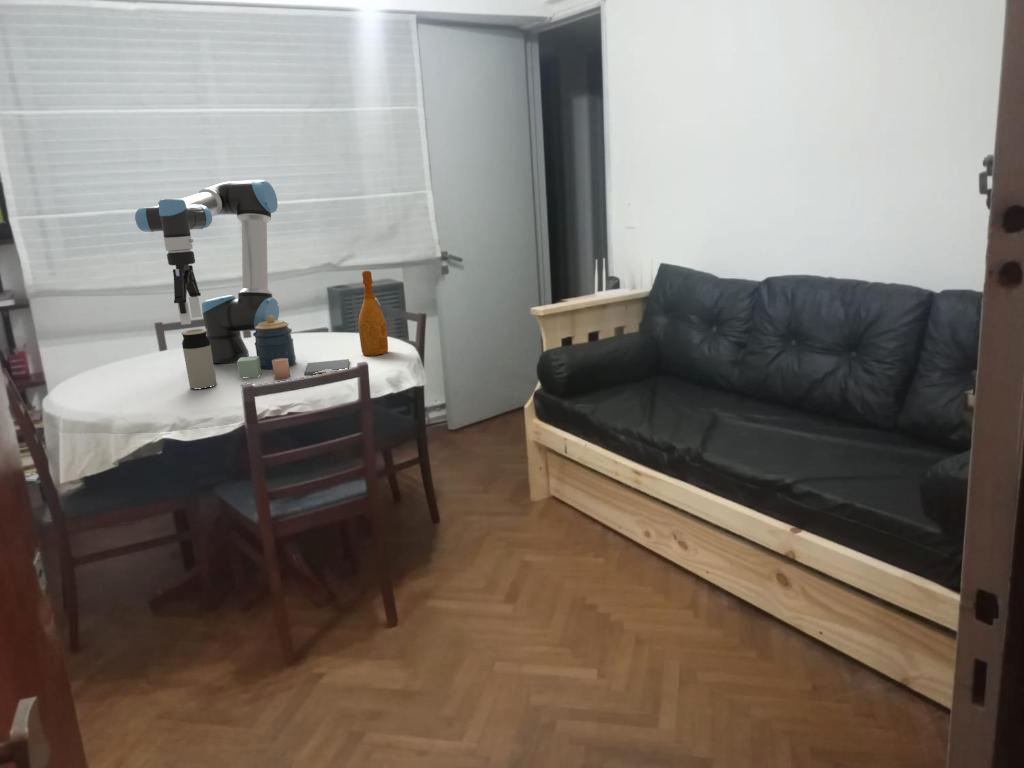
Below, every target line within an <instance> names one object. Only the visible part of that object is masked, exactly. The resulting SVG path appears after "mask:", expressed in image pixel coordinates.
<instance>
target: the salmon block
mask: <svg viewBox="0 0 1024 768" xmlns="http://www.w3.org/2000/svg"><path fill="white" fill-rule="evenodd" d="M272 366H273V369H272V371H273V372H272V373H273V377H274V380H276V379H277V380H276V381H280V380H281V381H282V380H287V379H289V378H291V372H290V371H291V369H290V366H289V363H288V358H278V359H274V360H272ZM279 379H280V380H279Z"/></svg>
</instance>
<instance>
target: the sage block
mask: <svg viewBox="0 0 1024 768" xmlns="http://www.w3.org/2000/svg"><path fill="white" fill-rule="evenodd" d="M236 364H237V369H238V370H237V371H238V377H239V379H240V378H243V377H256V378H259V377H260V376H261V375H260V374H262V368H261V366H260V360H259V356H257V355H253V356H249V357H241V358H239V360H238V361H237V362H236ZM259 375H260V376H259ZM258 376H259V377H258Z"/></svg>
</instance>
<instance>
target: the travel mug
mask: <svg viewBox="0 0 1024 768" xmlns="http://www.w3.org/2000/svg"><path fill="white" fill-rule="evenodd" d="M206 331H207V330H206V329H205V328H193V329H188V330H183V331H182V332H180V334H181V335H182V338H183V339H182V342H181V345H182V351H183V357H184V361H185V368H186V373H187V378H188V384H189V388H190V389H191V388H205V387H210V386H213V385H215V384H216V385H218V382H217V376H216V371H215V364H213V358H212V352H211V346H210V340H209V338H208V337H207V335H206ZM216 385H215V386H216Z"/></svg>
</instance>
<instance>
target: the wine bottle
mask: <svg viewBox="0 0 1024 768" xmlns="http://www.w3.org/2000/svg"><path fill="white" fill-rule="evenodd" d="M361 276H362V283H363V286H364V294H363V302H362V306H361V308H360V310H359V311H360V312H359V315H358V321H357V322H358V333H359V335H358V336H359V343H360V348H361V349H360V350H361V353H362V354H363V355H364V356H367V355H376V356H380V355H379V354H382V355H384V353H385V354H387V353H388V352H389V343H388V341H389V340H388V331H387V329H388V328H387V321H386V319H385V316H384V313H383V311H382V309H381V304H380V302H379V300H378V298H377V297H376V296H375V294H374V291H373V286H372V284H373V278H372V272H371V271H370V270H363V271H362V272H361ZM386 352H387V353H386Z"/></svg>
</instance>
